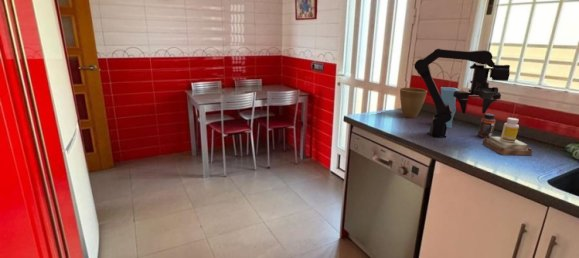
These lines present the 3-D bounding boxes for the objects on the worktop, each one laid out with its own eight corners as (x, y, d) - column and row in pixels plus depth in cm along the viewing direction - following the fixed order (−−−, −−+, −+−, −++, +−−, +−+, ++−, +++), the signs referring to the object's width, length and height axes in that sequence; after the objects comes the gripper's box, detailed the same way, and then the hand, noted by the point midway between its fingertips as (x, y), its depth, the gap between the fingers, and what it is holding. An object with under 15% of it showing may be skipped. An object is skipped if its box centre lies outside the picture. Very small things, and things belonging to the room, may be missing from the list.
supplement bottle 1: (493, 139, 152) (499, 116, 149) (480, 137, 153) (485, 115, 150) (489, 135, 158) (494, 113, 154) (476, 134, 159) (480, 112, 155)
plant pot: (426, 116, 189) (430, 89, 185) (418, 121, 178) (422, 93, 173) (401, 111, 198) (405, 86, 193) (392, 116, 187) (396, 89, 182)
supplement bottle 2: (517, 142, 135) (523, 120, 132) (504, 142, 136) (510, 120, 133) (510, 138, 140) (515, 117, 138) (497, 138, 141) (502, 116, 138)
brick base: (500, 154, 133) (503, 145, 132) (482, 143, 145) (484, 135, 144) (531, 155, 133) (533, 146, 132) (510, 144, 146) (512, 136, 144)
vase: (434, 122, 177) (440, 86, 171) (449, 123, 175) (456, 88, 169) (436, 126, 170) (442, 89, 164) (452, 127, 168) (459, 90, 161)
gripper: (469, 82, 133) (462, 117, 137) (513, 82, 133) (505, 118, 138) (455, 78, 143) (449, 111, 148) (496, 78, 144) (489, 111, 148)
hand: (473, 113), depth 145 cm, fingers open, 9 cm apart
